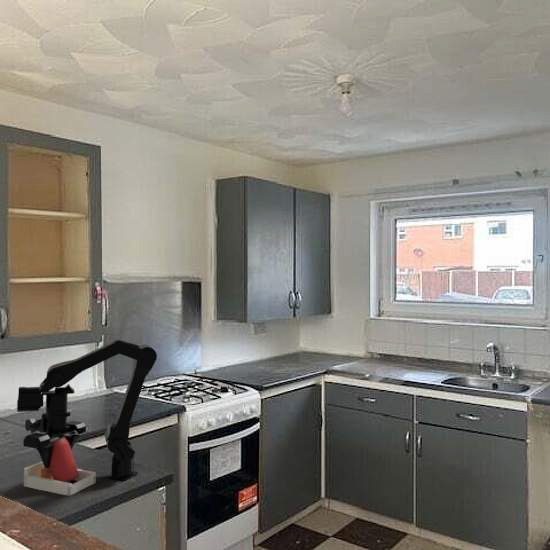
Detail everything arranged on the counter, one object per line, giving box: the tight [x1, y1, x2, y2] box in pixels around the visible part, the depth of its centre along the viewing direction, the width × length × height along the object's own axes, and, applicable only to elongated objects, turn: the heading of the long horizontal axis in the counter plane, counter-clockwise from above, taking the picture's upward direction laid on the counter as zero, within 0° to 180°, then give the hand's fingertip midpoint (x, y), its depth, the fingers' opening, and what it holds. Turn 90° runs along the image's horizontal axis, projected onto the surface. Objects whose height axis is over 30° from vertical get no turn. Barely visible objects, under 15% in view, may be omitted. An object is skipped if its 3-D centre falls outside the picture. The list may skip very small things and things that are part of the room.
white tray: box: [23, 461, 97, 497], centre depth 160 cm, size 10×16×5 cm, turn 68°
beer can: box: [49, 437, 79, 483], centre depth 160 cm, size 7×7×12 cm
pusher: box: [38, 466, 54, 480], centre depth 162 cm, size 8×1×6 cm, turn 158°
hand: (55, 464), depth 161 cm, fingers closed on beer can, 6 cm apart
